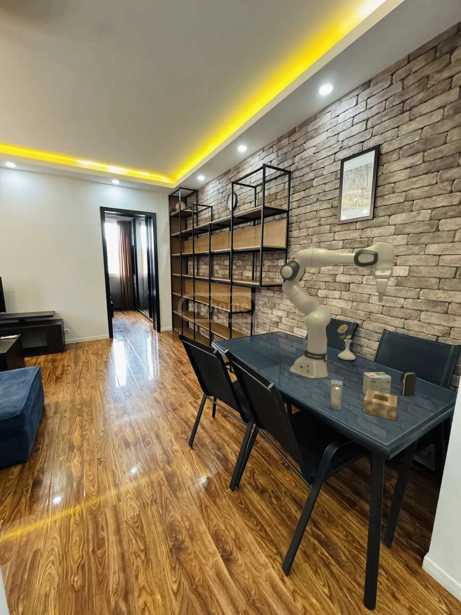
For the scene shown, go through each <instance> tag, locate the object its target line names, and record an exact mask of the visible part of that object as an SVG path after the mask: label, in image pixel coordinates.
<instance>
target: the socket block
mask: <svg viewBox="0 0 461 615" xmlns="http://www.w3.org/2000/svg"><path fill="white" fill-rule="evenodd" d="M397 403H398V395H395V394H391V393H390V394H386V393H382V392H378V391H373V390H369V389H367V392H366V394H365V396H364V399H363V408H362V409H363V413H366V414H369V415H372V416H376V417H379V418H384V419H386V420H387V419H388V420H391V421H396V417H397V416H396V415H397V405H398V404H397Z"/></svg>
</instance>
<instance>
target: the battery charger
mask: <svg viewBox="0 0 461 615" xmlns="http://www.w3.org/2000/svg"><path fill="white" fill-rule="evenodd" d="M400 374H401V375H400V381H399V382H400V383H401V385H402V387H401V388H402V389H401V391H400V394H401V395H402V396H405V397H406V396H412V395H415V394H416V392H415V391H416V385H417V377H418V376H417V373H415V372H412V371H404V372H402V373H400Z"/></svg>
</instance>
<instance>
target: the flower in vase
mask: <svg viewBox="0 0 461 615" xmlns="http://www.w3.org/2000/svg"><path fill="white" fill-rule="evenodd" d="M348 327H349V326H348V325H347V324H342V325H341V326H339V327H338V328H337V333H339V334H344V335H341V336H339V339H343V341H344V343H345V349H344V350H343V351H341V352H339V353H338V355H337V357H338V358H340V359H341V360H343V361H344V360H345V361H353V360H356V356H355V355H354V354H353V353H352V352H351V350H350V345H351V343H352V339H351V337H352V334H349V335H347V336H346V333H345V332H346V331H347V330H348ZM344 338H346V339H344Z"/></svg>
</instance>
